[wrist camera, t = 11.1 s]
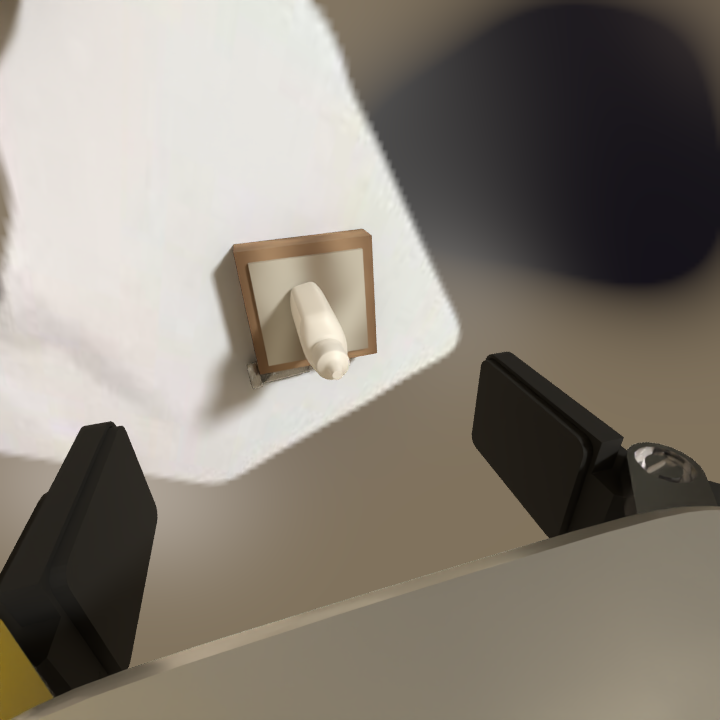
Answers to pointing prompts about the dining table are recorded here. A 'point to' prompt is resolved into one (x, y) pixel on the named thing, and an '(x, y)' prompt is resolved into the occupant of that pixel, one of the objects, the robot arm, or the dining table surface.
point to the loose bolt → (271, 374)
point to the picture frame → (298, 266)
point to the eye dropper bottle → (319, 331)
